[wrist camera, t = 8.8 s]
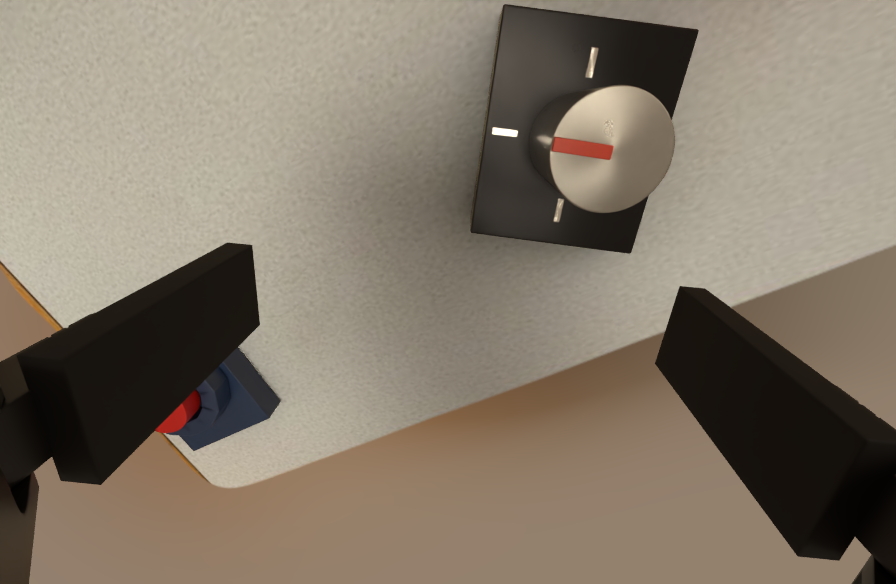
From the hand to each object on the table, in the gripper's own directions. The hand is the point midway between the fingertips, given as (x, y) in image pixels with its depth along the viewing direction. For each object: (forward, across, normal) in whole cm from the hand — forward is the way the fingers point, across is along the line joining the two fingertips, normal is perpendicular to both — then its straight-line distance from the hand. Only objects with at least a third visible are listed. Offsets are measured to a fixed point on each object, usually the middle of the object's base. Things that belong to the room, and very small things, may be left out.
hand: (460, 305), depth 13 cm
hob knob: (+13, +6, +5) cm, 15 cm away
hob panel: (+16, +6, +5) cm, 18 cm away
